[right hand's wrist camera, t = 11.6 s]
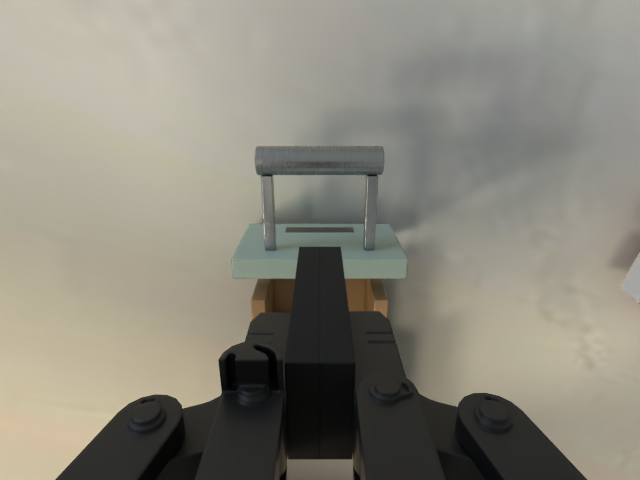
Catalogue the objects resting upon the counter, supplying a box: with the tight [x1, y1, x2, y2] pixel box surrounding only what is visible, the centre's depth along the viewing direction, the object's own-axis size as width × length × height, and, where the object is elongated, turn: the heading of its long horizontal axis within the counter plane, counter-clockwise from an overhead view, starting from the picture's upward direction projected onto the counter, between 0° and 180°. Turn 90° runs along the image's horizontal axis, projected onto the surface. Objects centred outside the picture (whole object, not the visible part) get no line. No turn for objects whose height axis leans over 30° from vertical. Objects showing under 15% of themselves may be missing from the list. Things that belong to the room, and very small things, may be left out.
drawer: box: [231, 146, 408, 320], centre depth 26 cm, size 19×10×6 cm, turn 0°
